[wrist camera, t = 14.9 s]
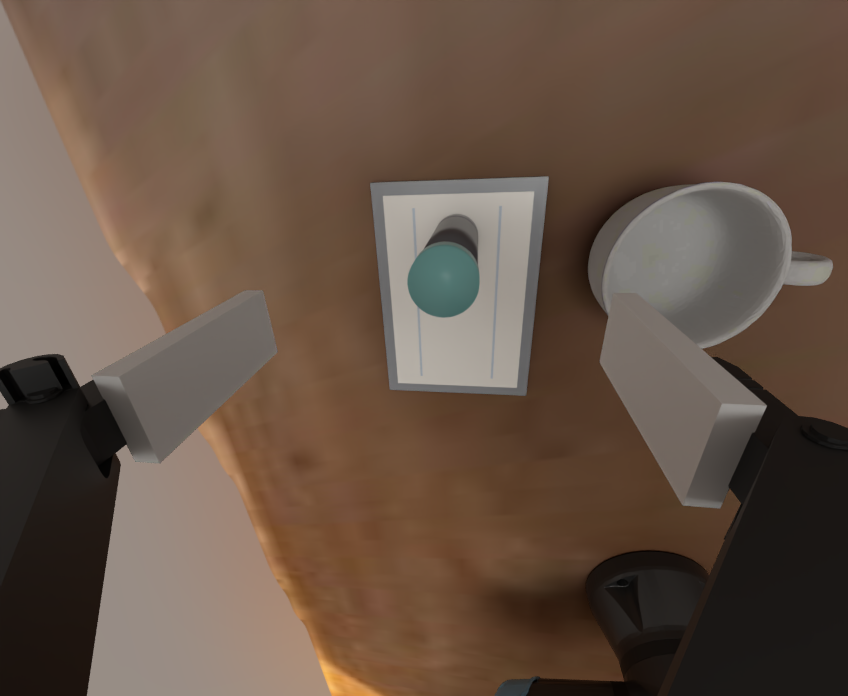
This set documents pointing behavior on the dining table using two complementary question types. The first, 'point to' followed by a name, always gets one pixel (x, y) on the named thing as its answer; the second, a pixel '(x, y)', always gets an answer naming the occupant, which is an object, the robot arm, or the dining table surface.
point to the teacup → (701, 257)
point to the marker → (447, 269)
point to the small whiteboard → (498, 290)
